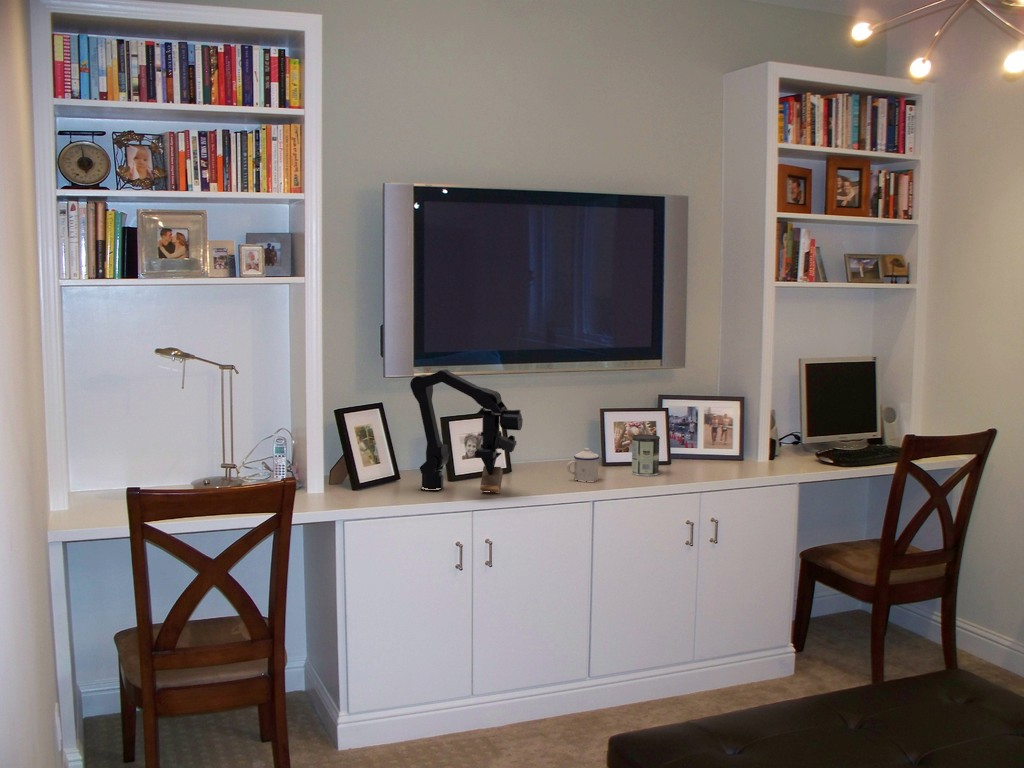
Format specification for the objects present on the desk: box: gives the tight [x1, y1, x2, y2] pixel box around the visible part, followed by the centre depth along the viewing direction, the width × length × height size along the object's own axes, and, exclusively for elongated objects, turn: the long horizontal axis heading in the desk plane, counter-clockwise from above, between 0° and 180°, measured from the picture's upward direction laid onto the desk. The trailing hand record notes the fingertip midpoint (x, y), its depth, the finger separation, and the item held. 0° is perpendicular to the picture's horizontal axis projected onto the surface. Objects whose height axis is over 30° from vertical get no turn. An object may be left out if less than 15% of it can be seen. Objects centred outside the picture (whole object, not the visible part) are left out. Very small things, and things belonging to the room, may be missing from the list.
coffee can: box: [631, 433, 661, 477], centre depth 347 cm, size 10×10×14 cm
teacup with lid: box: [566, 447, 600, 482], centre depth 334 cm, size 12×9×12 cm
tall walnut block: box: [480, 465, 504, 493], centre depth 314 cm, size 6×4×8 cm
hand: (490, 474), depth 312 cm, fingers closed
